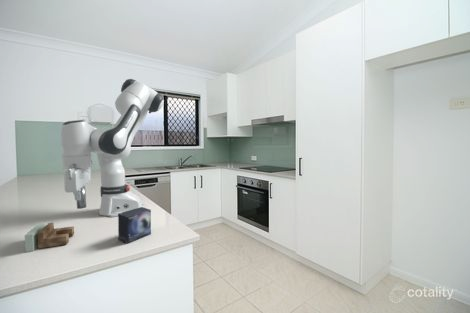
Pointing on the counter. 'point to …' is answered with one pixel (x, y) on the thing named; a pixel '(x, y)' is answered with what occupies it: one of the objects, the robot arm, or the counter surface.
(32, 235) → the wall
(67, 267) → the counter surface
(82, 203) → the dowel
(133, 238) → the small box
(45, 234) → the block
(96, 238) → the counter surface
